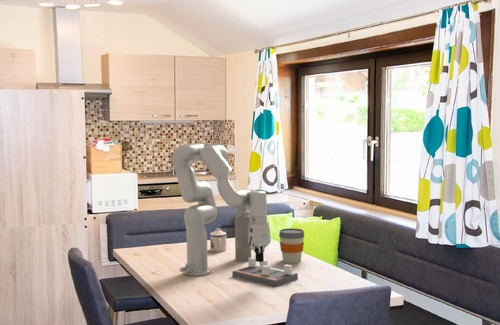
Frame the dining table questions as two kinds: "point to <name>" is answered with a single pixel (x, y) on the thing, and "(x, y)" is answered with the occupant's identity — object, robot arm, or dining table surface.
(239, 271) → the grey slider switch panel
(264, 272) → the block
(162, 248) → the dining table surface
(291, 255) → the reusable coffee cup
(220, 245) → the teacup with lid
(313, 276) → the dining table surface
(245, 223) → the thermos bottle
